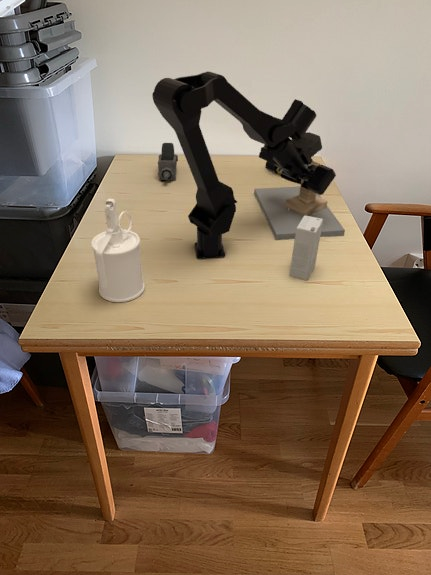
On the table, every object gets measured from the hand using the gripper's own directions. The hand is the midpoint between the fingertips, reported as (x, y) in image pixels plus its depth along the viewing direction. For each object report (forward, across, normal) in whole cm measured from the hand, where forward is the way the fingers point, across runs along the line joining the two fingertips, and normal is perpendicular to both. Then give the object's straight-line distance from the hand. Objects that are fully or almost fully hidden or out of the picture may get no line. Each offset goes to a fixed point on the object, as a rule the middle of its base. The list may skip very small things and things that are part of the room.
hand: (312, 186), depth 122 cm
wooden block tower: (+3, 0, +5) cm, 6 cm away
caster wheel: (-7, +42, +17) cm, 46 cm away
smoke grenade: (-35, -1, +46) cm, 57 cm away
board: (+2, +1, +8) cm, 8 cm away
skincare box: (-11, -19, +21) cm, 30 cm away
